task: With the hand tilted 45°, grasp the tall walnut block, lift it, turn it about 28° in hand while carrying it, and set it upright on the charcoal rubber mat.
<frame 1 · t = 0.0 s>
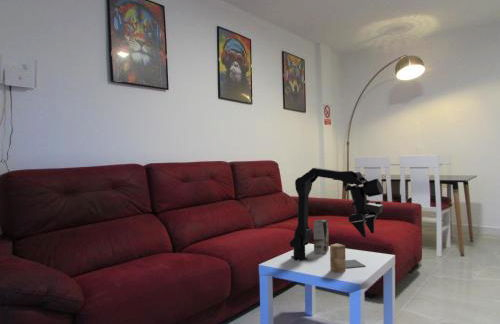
hand: (368, 235, 152), 15 cm above the table, tool pointing down, fingers open, 9 cm apart
mat: (350, 264, 163), on the table
walnut block: (338, 270, 154), on the table
coffee box: (321, 252, 185), on the table
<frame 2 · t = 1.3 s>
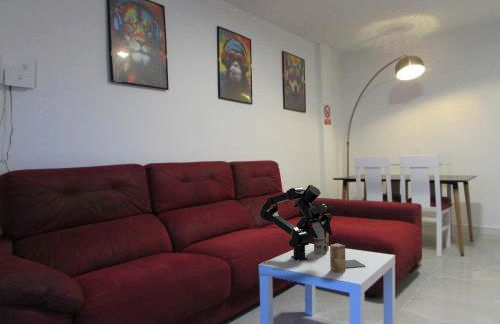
hand: (324, 236, 160), 13 cm above the table, tool tilted 45°, fingers open, 9 cm apart
nothing on the table moved.
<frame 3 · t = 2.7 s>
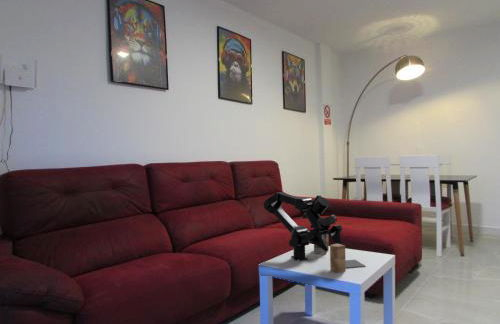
hand: (334, 248, 155), 9 cm above the table, tool tilted 45°, fingers open, 9 cm apart
nothing on the table moved.
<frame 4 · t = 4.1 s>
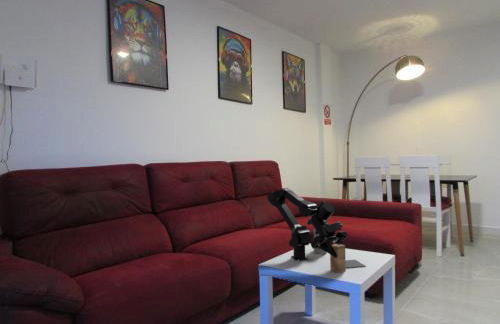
hand: (340, 256, 153), 7 cm above the table, tool tilted 45°, fingers closed on walnut block, 4 cm apart
walnut block: (338, 270, 154), on the table, touching gripper
everything else where it was.
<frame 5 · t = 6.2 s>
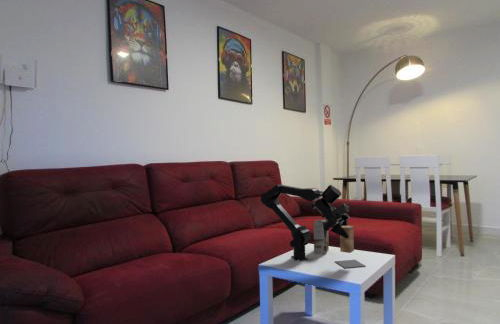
hand: (349, 236, 158), 13 cm above the table, tool tilted 45°, fingers closed on walnut block, 4 cm apart
walnut block: (347, 251, 159), point 7 cm above the table, touching gripper
everything else where it was.
when the fingers open (8 cm above the table, at t = 8.2 s): walnut block stays where it is, resting on mat.
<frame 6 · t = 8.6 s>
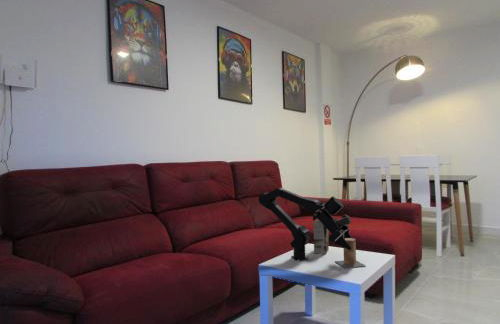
hand: (352, 247, 162), 8 cm above the table, tool tilted 45°, fingers open, 8 cm apart
walnut block: (349, 263, 163), resting on mat
everything else where it was.
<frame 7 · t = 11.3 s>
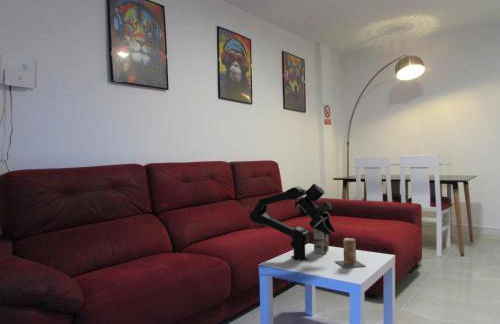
hand: (332, 233, 166), 14 cm above the table, tool tilted 45°, fingers open, 9 cm apart
nothing on the table moved.
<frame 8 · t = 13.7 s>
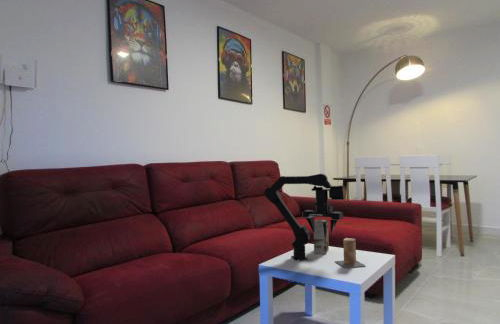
hand: (322, 232, 171), 13 cm above the table, tool pointing down, fingers open, 9 cm apart
nothing on the table moved.
at the end: walnut block 0.0 cm off-centre on the mat, point 0.4 cm above the mat's base; walnut block tilted 0°; the gripper is holding nothing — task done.
